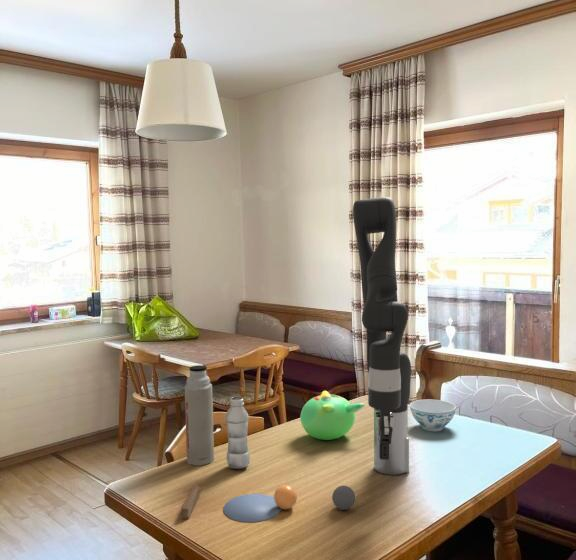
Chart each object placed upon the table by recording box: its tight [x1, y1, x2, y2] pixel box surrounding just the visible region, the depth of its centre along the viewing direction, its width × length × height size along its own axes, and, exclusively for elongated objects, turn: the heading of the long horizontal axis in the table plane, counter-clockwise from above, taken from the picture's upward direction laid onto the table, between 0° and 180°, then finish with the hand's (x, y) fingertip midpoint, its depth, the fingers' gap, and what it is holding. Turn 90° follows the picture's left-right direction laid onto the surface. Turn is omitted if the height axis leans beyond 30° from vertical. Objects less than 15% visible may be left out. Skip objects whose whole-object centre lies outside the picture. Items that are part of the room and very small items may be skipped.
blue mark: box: [223, 493, 282, 523], centre depth 137 cm, size 14×14×1 cm
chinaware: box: [409, 398, 457, 432], centre depth 191 cm, size 15×15×8 cm
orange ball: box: [273, 484, 298, 510], centre depth 136 cm, size 6×6×6 cm
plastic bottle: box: [225, 396, 251, 470], centre depth 161 cm, size 6×7×20 cm
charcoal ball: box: [331, 485, 356, 511], centre depth 136 cm, size 6×6×6 cm
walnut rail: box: [181, 485, 201, 520], centre depth 138 cm, size 2×12×2 cm, turn 177°
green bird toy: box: [299, 390, 365, 441], centre depth 183 cm, size 18×17×15 cm
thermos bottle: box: [184, 364, 215, 466], centre depth 166 cm, size 8×8×28 cm
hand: (384, 458), depth 134 cm, fingers closed
